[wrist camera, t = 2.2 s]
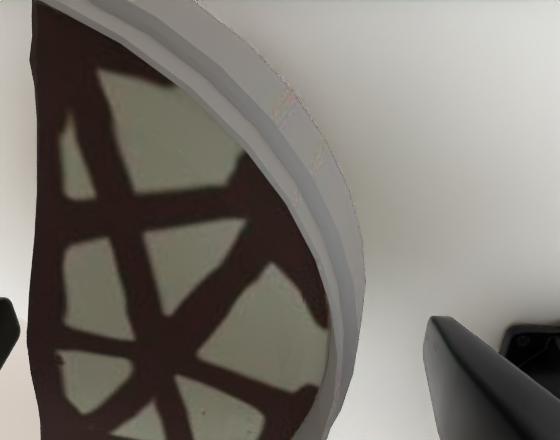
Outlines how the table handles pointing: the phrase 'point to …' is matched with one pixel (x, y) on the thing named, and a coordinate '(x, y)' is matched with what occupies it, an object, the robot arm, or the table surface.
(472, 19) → the table surface
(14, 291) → the table surface
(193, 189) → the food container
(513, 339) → the robot arm
